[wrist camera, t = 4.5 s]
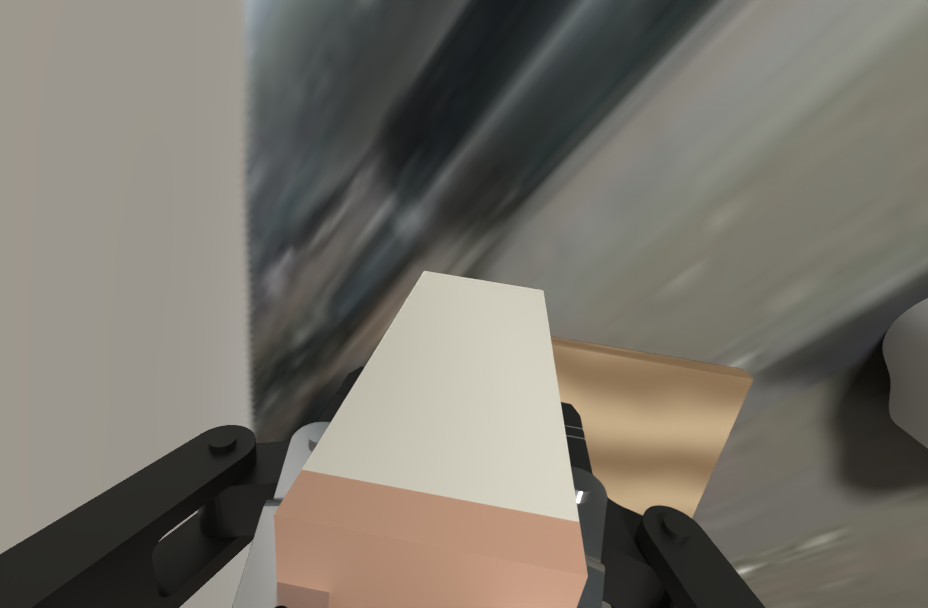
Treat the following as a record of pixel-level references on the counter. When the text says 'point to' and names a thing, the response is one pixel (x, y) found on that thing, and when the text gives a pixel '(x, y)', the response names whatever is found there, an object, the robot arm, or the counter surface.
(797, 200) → the counter surface
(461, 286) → the block
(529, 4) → the counter surface
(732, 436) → the counter surface
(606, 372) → the board
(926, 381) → the paw stamp
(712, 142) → the counter surface
